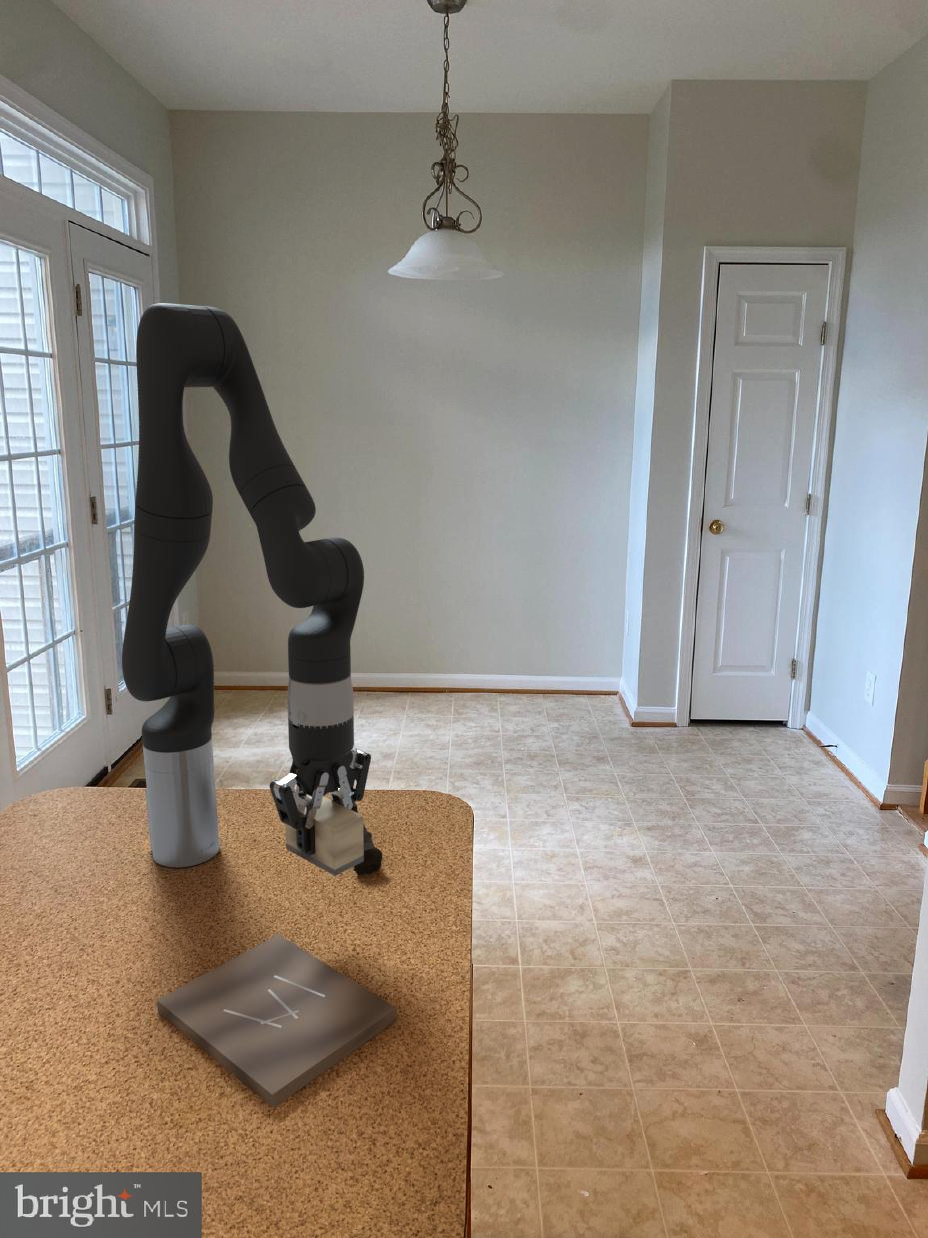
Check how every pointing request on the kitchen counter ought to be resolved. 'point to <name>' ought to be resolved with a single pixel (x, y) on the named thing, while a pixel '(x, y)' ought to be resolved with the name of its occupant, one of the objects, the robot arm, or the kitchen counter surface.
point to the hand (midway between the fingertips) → (324, 844)
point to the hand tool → (368, 853)
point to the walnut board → (276, 1017)
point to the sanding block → (333, 838)
